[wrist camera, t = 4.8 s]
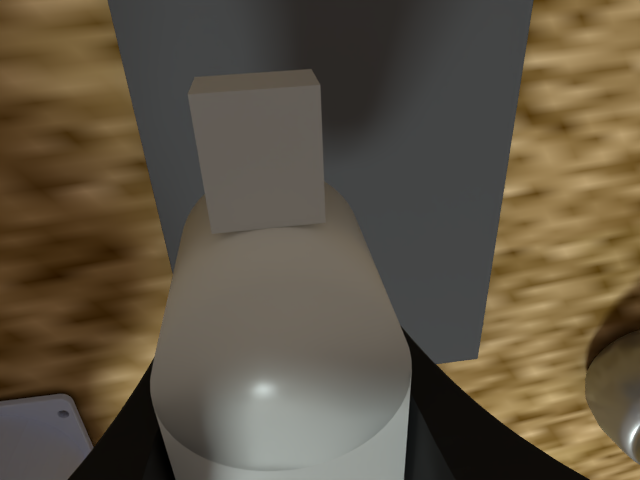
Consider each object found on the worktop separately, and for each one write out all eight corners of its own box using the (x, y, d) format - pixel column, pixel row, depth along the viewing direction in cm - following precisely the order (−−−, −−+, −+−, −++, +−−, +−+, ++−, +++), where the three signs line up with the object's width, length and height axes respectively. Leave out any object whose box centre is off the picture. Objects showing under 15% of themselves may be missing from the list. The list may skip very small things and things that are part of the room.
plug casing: (360, 432, 16) (396, 583, 12) (223, 451, 16) (216, 613, 12) (360, 48, 10) (431, 108, 6) (139, 63, 10) (71, 136, 6)
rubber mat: (473, 352, 26) (477, 358, 26) (202, 386, 25) (201, 394, 24) (532, -46, 17) (540, -45, 16) (106, -21, 16) (102, -21, 15)
